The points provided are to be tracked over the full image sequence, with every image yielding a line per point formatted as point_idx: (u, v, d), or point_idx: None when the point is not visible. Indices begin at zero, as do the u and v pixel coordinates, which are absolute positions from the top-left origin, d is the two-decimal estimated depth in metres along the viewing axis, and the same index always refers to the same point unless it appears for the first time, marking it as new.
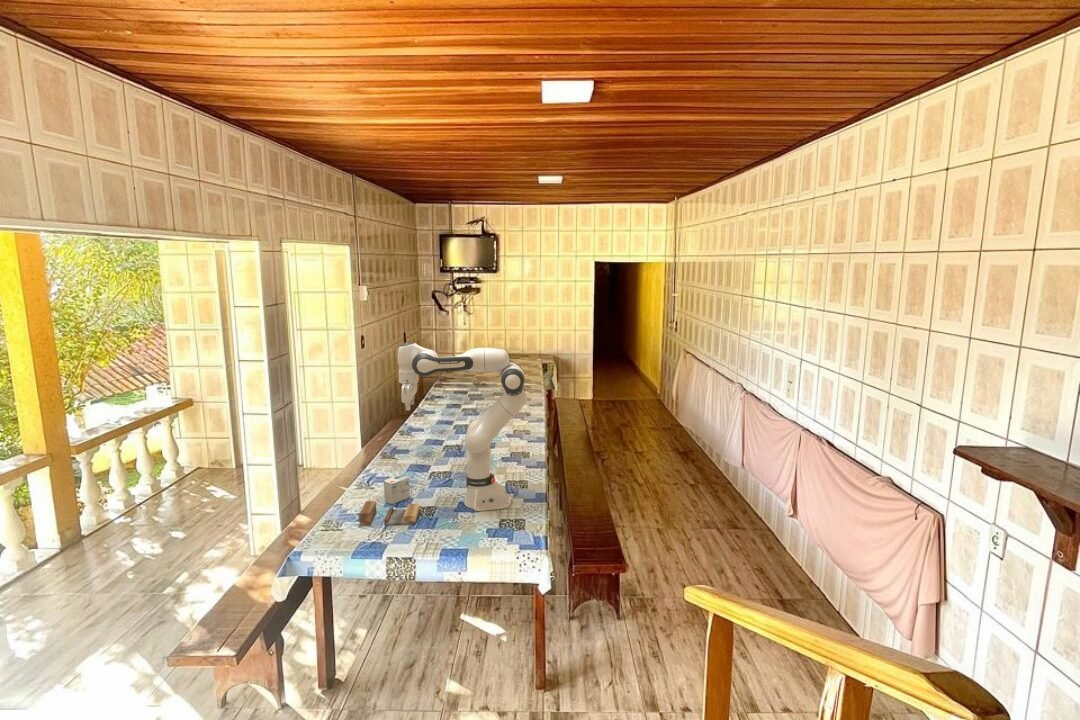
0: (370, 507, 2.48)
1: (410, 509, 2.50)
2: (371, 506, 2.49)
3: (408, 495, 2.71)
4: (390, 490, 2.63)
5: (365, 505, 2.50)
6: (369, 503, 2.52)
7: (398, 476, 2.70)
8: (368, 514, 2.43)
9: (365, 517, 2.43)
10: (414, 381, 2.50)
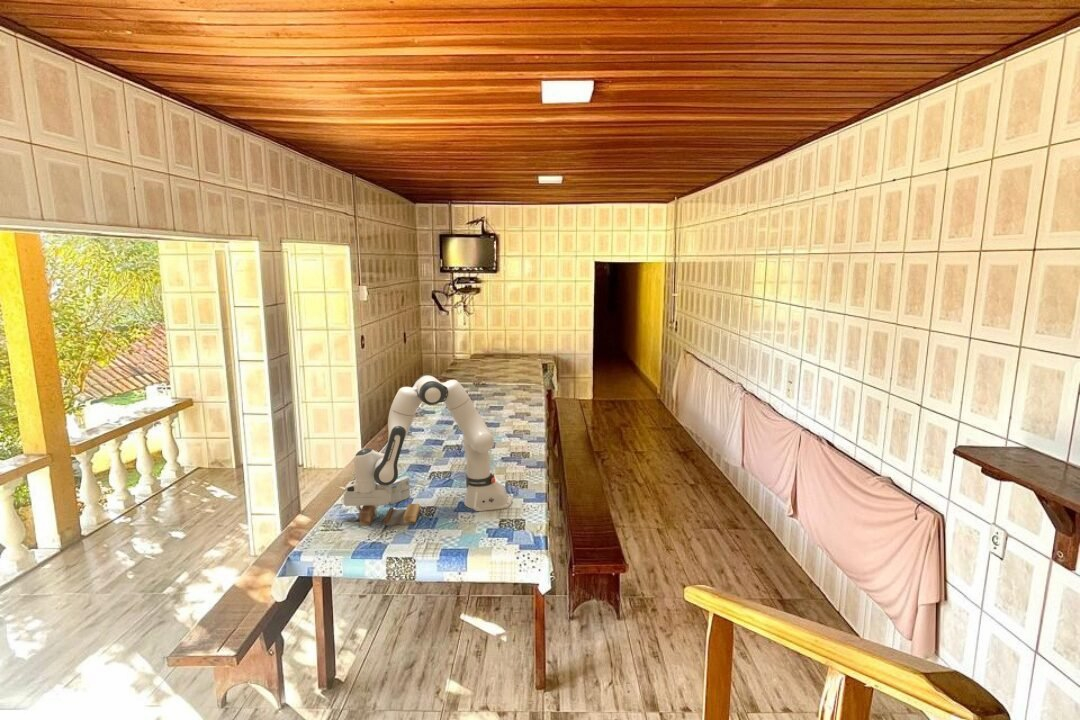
0: (370, 507, 2.48)
1: (410, 509, 2.50)
2: (371, 506, 2.49)
3: (408, 495, 2.71)
4: (390, 490, 2.63)
5: (365, 505, 2.50)
6: None
7: (398, 476, 2.70)
8: (368, 514, 2.43)
9: (366, 517, 2.43)
10: None
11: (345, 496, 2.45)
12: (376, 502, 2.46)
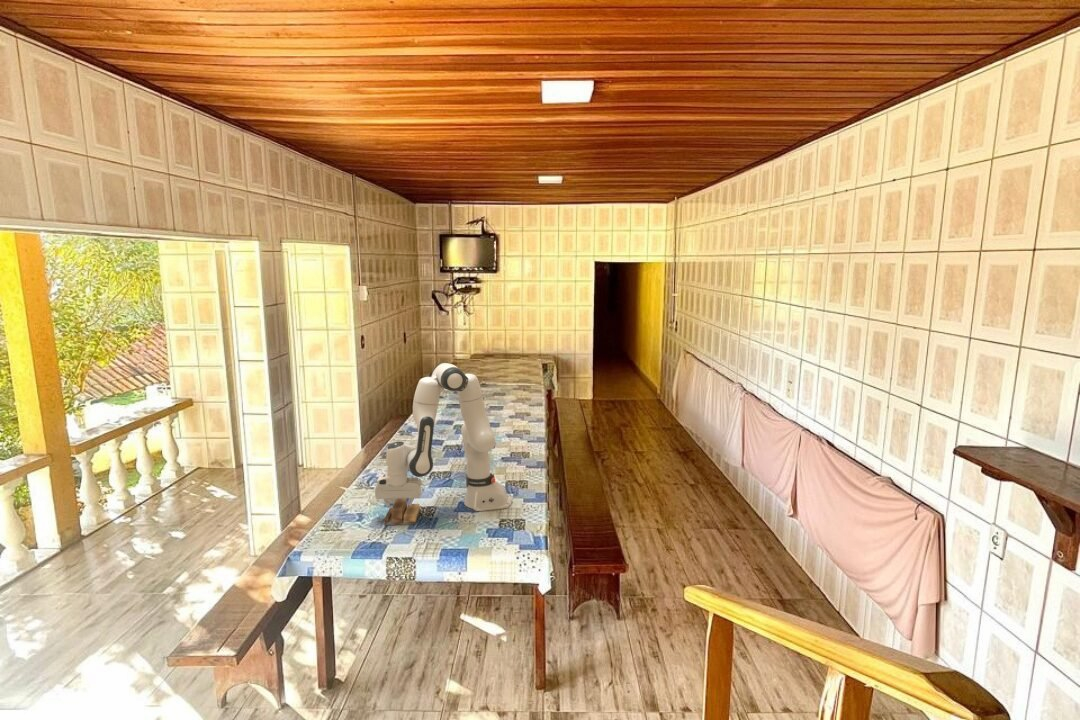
0: (401, 504, 2.48)
1: (410, 509, 2.50)
2: (402, 503, 2.49)
3: None
4: None
5: (396, 502, 2.51)
6: (400, 500, 2.52)
7: None
8: (400, 511, 2.43)
9: (398, 514, 2.44)
10: None
11: (377, 489, 2.45)
12: (408, 495, 2.47)
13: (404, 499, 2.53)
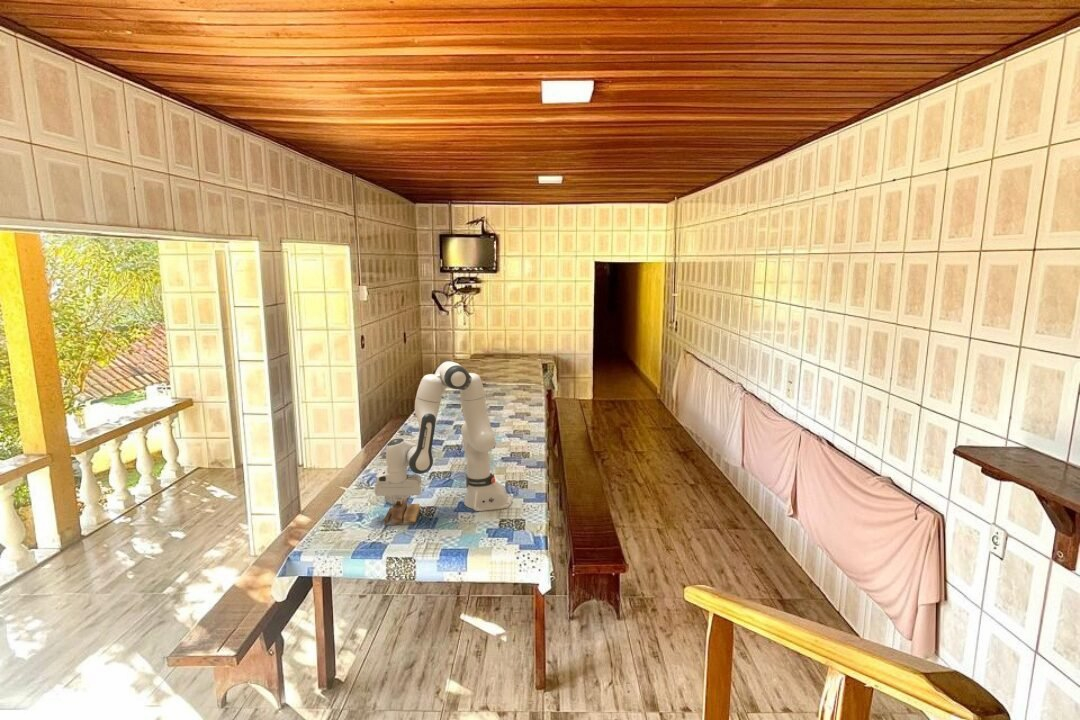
0: (401, 504, 2.48)
1: (410, 509, 2.50)
2: (402, 503, 2.49)
3: (408, 495, 2.71)
4: None
5: None
6: None
7: None
8: (400, 511, 2.43)
9: (398, 514, 2.44)
10: None
11: (376, 486, 2.44)
12: (407, 492, 2.46)
13: (404, 499, 2.53)
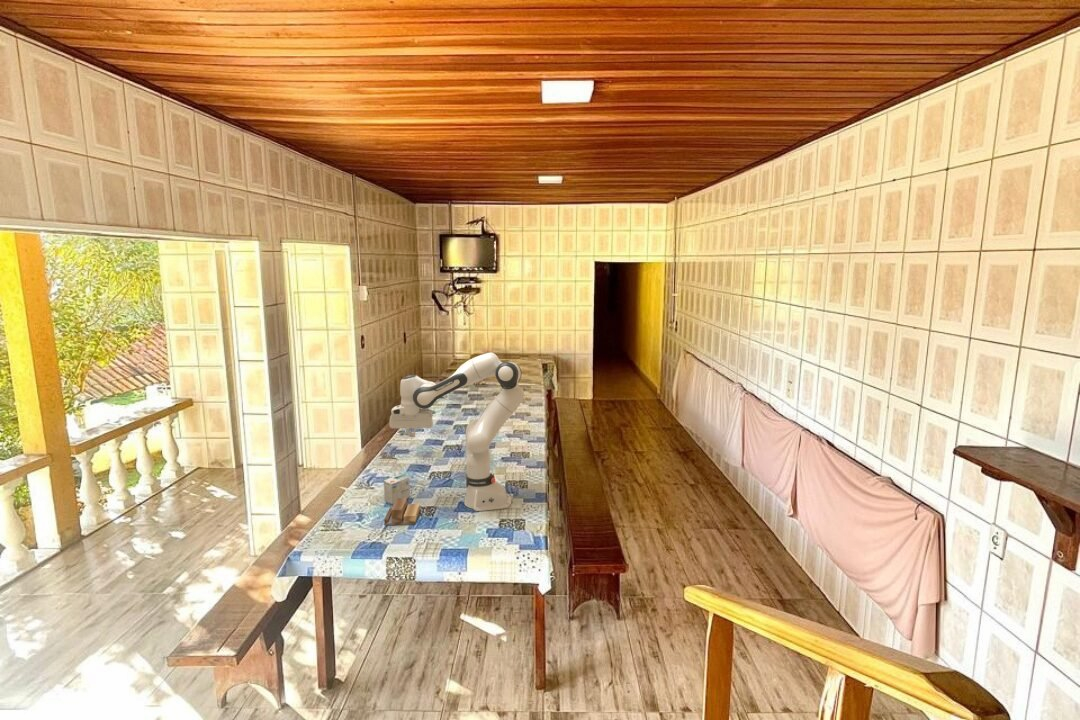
0: (401, 504, 2.48)
1: (410, 509, 2.50)
2: (402, 503, 2.49)
3: (408, 495, 2.71)
4: (390, 490, 2.63)
5: (396, 502, 2.51)
6: (400, 500, 2.52)
7: (398, 476, 2.70)
8: (400, 511, 2.43)
9: (398, 514, 2.44)
10: None
11: (391, 419, 2.61)
12: (420, 425, 2.63)
13: (404, 499, 2.53)
